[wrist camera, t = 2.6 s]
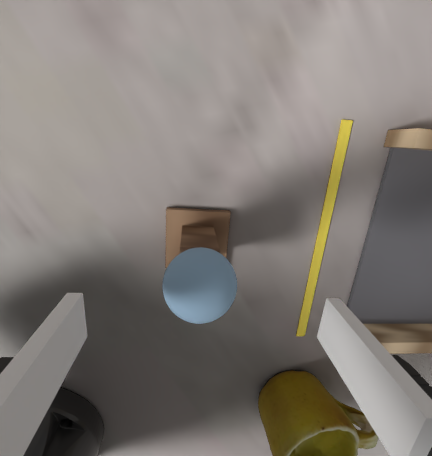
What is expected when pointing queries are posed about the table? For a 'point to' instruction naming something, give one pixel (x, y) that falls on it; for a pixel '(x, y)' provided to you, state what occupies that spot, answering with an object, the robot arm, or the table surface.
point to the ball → (199, 285)
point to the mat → (398, 246)
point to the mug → (310, 419)
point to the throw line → (324, 223)
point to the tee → (196, 230)
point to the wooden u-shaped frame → (405, 333)
